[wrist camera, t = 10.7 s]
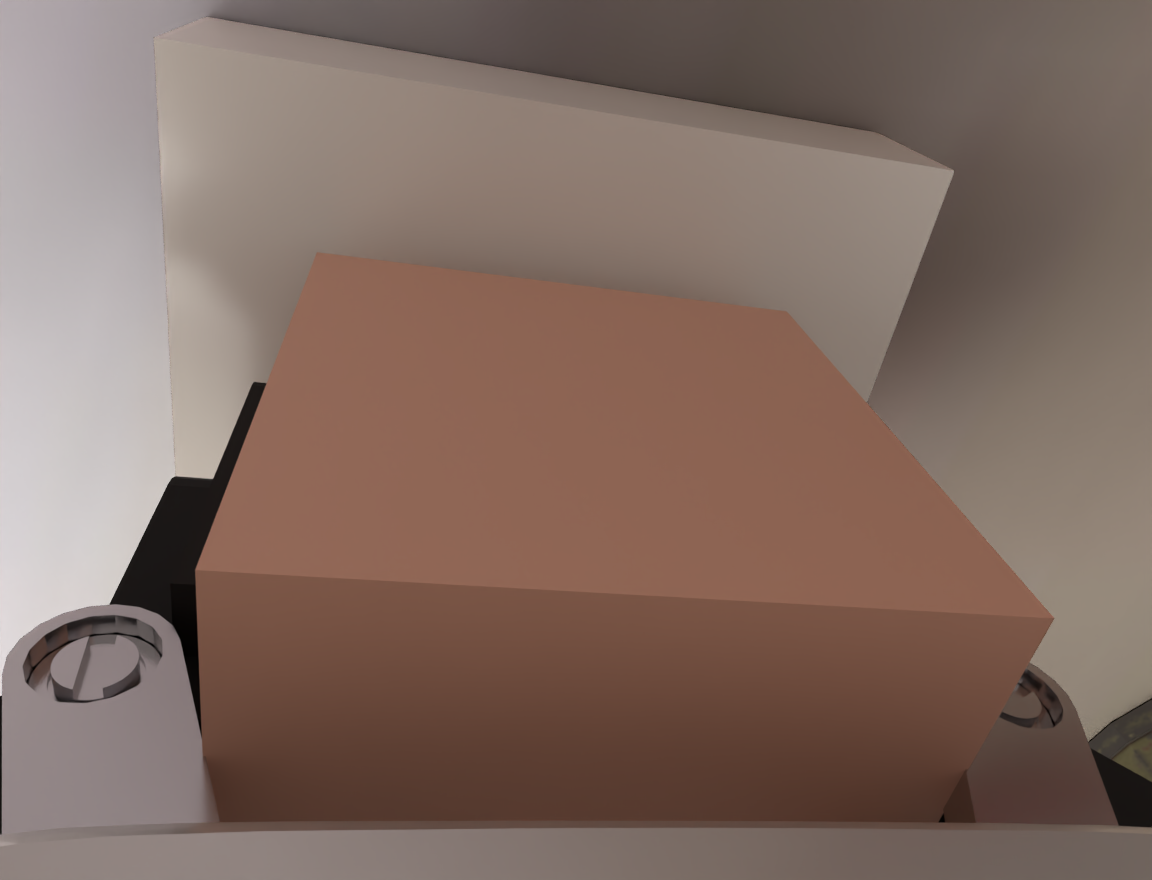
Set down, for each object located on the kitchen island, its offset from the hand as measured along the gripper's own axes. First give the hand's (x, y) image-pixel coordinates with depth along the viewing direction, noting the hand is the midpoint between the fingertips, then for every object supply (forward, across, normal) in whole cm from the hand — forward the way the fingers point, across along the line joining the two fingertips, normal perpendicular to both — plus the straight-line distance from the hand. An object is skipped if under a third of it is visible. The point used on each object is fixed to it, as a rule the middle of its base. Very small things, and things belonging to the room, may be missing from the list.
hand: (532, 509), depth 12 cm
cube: (+1, 0, 0) cm, 1 cm away
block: (+4, 0, 0) cm, 4 cm away
